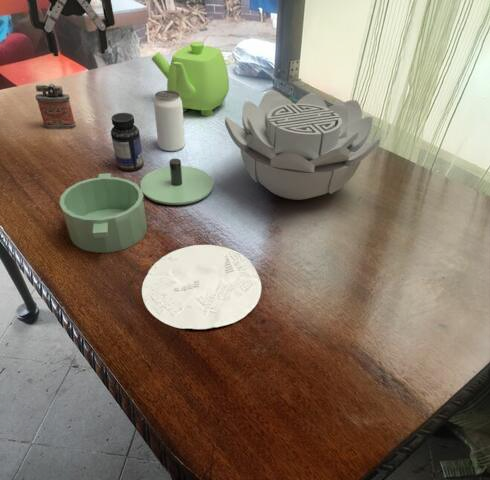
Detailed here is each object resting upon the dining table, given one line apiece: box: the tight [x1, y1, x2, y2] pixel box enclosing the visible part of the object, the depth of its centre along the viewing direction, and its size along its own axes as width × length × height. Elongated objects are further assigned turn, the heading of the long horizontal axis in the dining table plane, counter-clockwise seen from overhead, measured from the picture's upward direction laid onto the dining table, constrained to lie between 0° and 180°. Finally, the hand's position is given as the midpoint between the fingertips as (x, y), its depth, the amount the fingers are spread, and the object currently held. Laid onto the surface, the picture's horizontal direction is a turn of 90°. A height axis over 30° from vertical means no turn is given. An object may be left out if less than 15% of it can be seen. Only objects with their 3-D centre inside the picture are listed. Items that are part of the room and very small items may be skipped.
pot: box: [58, 172, 148, 254], centre depth 85 cm, size 15×20×7 cm
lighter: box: [34, 83, 77, 130], centre depth 114 cm, size 8×3×10 cm, turn 94°
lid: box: [139, 158, 214, 206], centre depth 96 cm, size 16×16×6 cm
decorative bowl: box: [224, 89, 382, 201], centre depth 96 cm, size 30×30×15 cm
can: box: [153, 89, 186, 152], centre depth 107 cm, size 6×6×12 cm
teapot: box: [151, 41, 230, 117], centre depth 123 cm, size 25×22×16 cm
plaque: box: [141, 244, 262, 330], centre depth 76 cm, size 20×20×2 cm
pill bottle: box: [110, 112, 145, 172], centre depth 100 cm, size 6×6×11 cm
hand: (79, 54), depth 85 cm, fingers open, 8 cm apart
